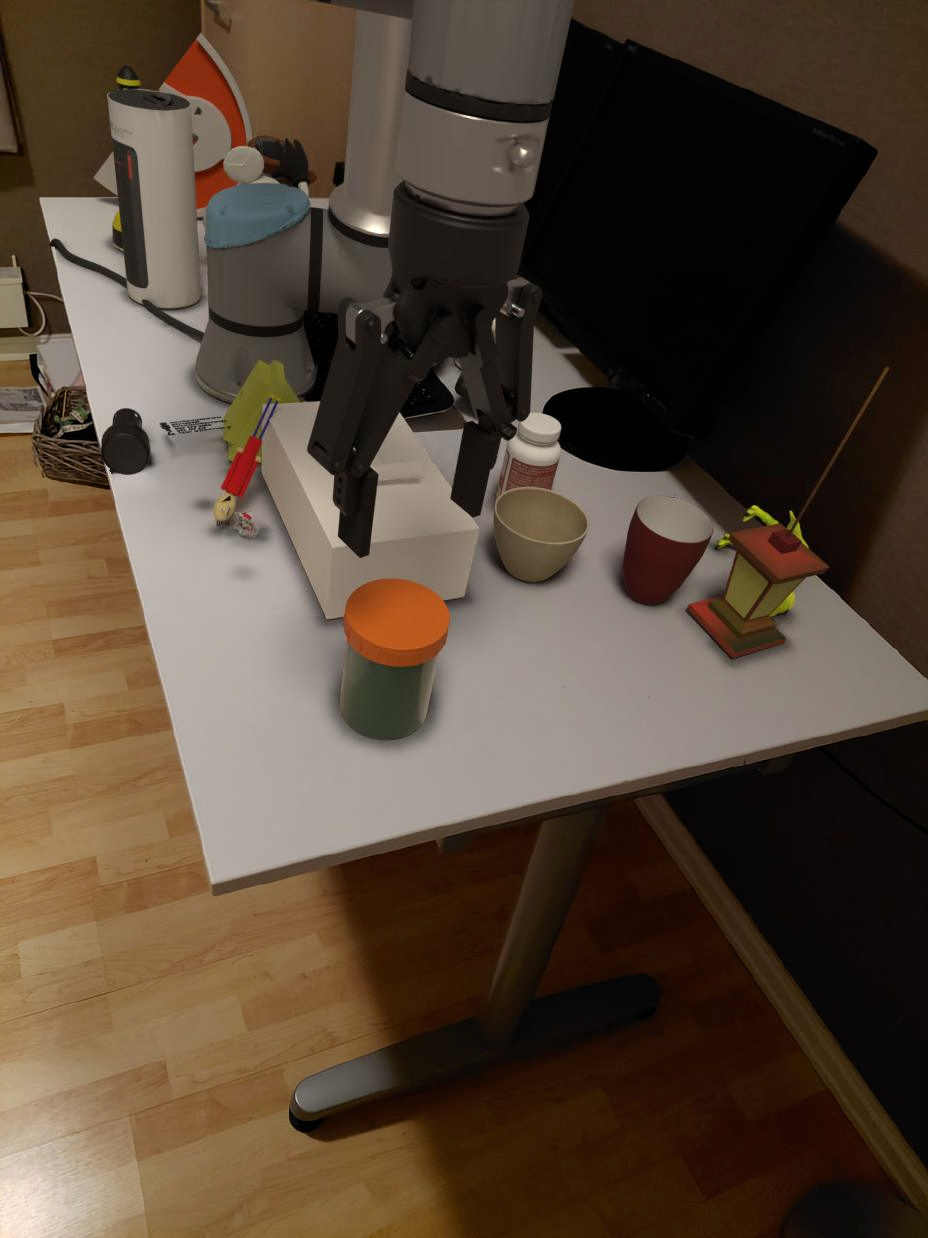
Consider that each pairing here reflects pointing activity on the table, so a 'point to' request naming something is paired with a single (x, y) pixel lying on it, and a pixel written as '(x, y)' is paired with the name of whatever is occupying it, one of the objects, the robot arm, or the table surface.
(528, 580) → the flower pot
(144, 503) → the table surface
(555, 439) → the pill bottle
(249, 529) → the figurine
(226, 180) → the wall plaque
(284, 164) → the toy
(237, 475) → the figurine
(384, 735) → the jar
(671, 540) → the mug
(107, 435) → the flashlight
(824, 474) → the light fixture
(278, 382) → the bracket
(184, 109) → the speaker
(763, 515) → the dinosaur figurine
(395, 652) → the lid
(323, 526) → the hammer relief block
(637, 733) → the table surface
